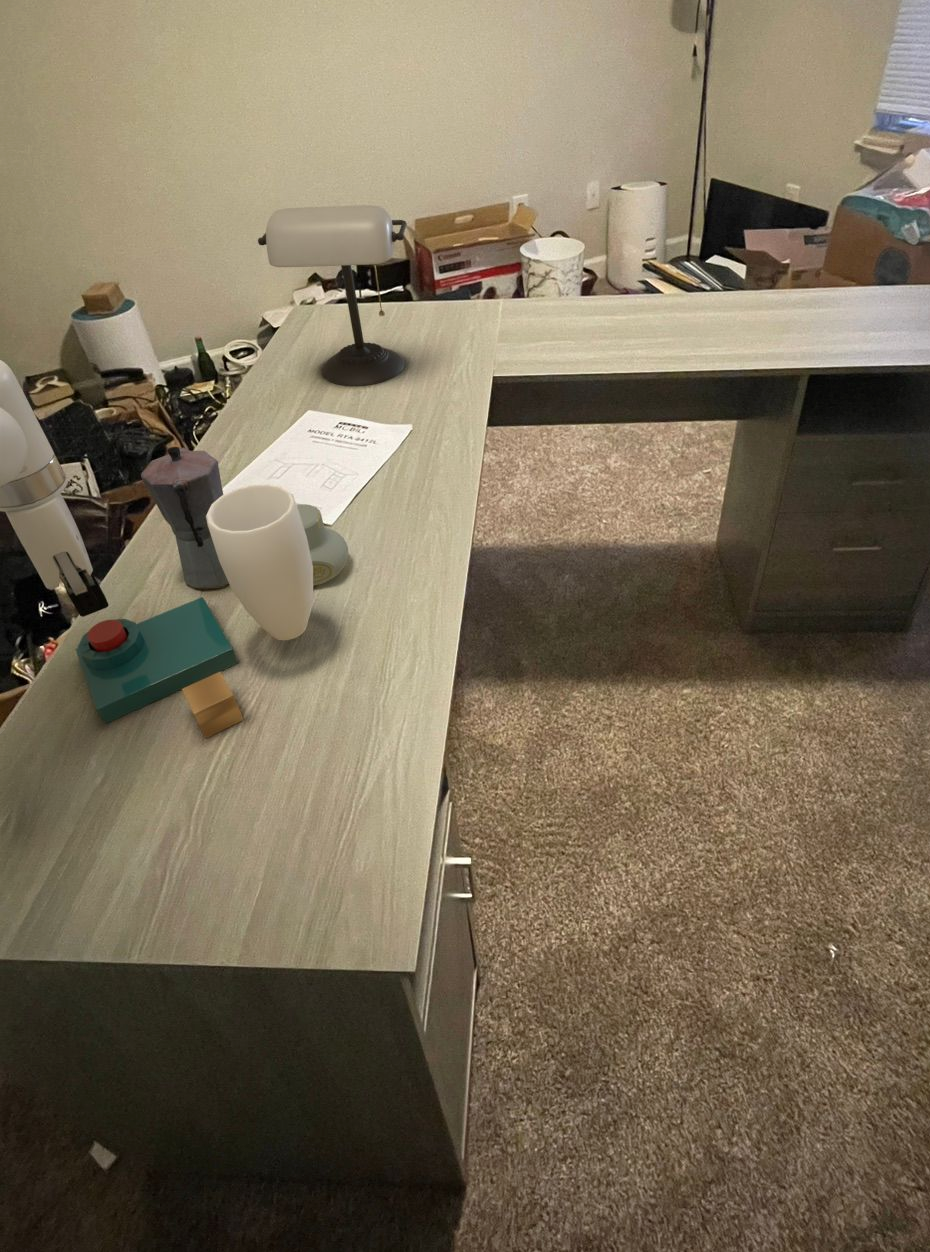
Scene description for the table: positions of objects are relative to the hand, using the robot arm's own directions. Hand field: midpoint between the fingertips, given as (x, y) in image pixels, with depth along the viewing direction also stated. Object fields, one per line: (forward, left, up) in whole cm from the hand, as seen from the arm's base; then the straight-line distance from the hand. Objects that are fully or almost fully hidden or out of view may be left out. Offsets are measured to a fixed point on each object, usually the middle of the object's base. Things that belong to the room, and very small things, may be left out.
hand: (93, 608), depth 87 cm
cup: (+19, -10, -10) cm, 23 cm away
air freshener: (+27, +2, -10) cm, 29 cm away
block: (+7, -16, -9) cm, 20 cm away
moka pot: (+16, +10, -10) cm, 21 cm away
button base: (+4, -3, -9) cm, 11 cm away
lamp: (+62, +57, -10) cm, 85 cm away
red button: (0, 0, -5) cm, 5 cm away
